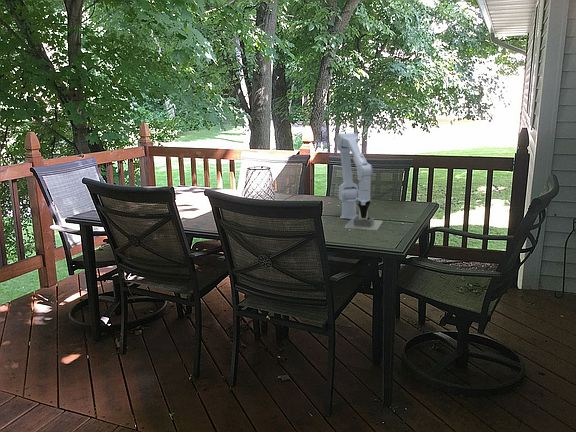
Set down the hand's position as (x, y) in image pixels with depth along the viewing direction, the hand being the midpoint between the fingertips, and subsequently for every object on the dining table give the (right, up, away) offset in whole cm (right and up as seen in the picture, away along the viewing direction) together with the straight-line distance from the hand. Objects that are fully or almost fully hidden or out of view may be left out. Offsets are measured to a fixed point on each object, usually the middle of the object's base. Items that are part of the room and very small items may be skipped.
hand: (364, 216), depth 252 cm
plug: (0, -2, +1) cm, 2 cm away
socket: (0, -4, +1) cm, 4 cm away
